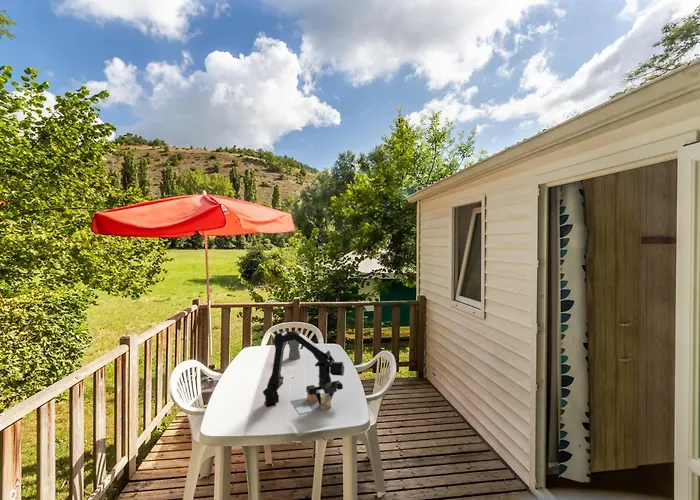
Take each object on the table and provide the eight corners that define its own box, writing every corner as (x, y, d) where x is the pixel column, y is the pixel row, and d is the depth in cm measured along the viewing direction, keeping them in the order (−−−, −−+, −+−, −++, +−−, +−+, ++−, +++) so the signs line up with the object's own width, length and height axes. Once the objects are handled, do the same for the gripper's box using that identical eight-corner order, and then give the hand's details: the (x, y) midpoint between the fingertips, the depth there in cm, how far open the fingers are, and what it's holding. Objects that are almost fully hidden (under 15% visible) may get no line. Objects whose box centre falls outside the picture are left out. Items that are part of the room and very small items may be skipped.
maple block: (321, 409, 192) (321, 397, 192) (318, 405, 197) (318, 394, 197) (331, 407, 194) (330, 396, 194) (327, 403, 199) (327, 392, 199)
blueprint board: (299, 416, 186) (299, 414, 186) (290, 402, 203) (289, 400, 203) (332, 409, 194) (332, 408, 194) (321, 396, 210) (321, 395, 210)
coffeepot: (283, 359, 278) (283, 335, 278) (289, 355, 287) (289, 332, 287) (301, 361, 273) (301, 336, 272) (307, 357, 282) (307, 333, 281)
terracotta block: (309, 402, 201) (309, 391, 201) (307, 398, 206) (307, 387, 206) (318, 400, 203) (318, 389, 203) (315, 396, 208) (315, 386, 208)
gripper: (312, 382, 184) (312, 413, 184) (346, 376, 192) (347, 406, 192) (305, 375, 194) (306, 404, 195) (338, 369, 202) (339, 398, 202)
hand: (324, 403), depth 196 cm, fingers closed on maple block, 5 cm apart
